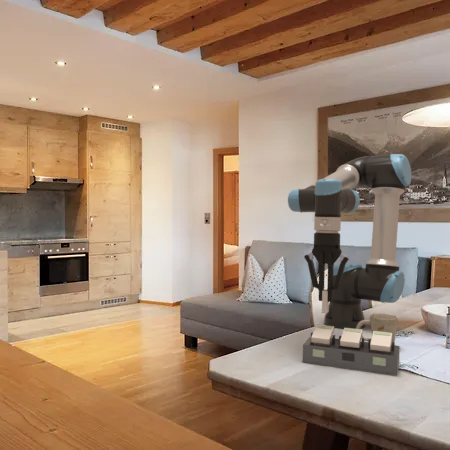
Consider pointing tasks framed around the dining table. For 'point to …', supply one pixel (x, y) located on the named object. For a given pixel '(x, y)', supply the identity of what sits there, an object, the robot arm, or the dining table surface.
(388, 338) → the rocker
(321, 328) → the rocker
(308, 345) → the console
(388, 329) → the mug
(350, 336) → the rocker
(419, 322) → the dining table surface
